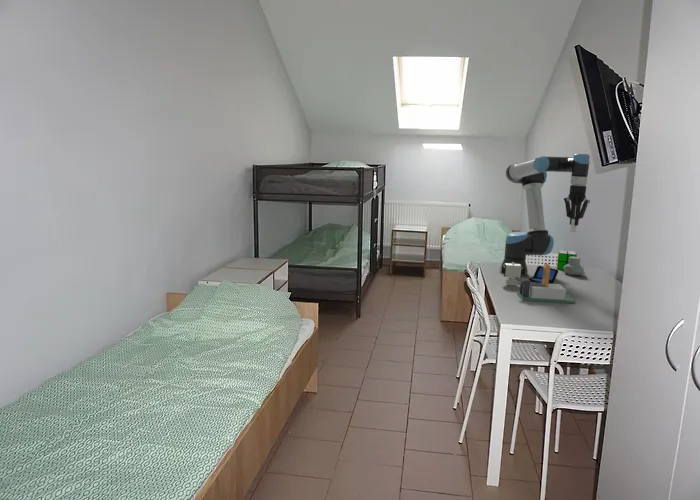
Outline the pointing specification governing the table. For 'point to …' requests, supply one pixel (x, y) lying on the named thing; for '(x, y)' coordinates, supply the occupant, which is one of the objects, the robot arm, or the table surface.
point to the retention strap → (544, 280)
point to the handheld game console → (539, 275)
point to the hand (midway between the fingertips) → (573, 231)
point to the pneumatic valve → (512, 272)
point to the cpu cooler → (543, 293)
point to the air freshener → (573, 267)
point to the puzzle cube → (564, 258)
